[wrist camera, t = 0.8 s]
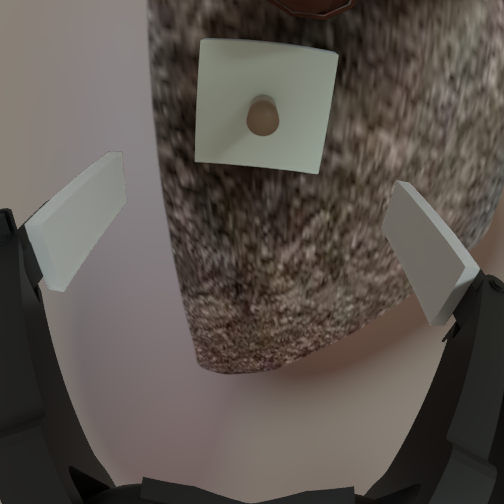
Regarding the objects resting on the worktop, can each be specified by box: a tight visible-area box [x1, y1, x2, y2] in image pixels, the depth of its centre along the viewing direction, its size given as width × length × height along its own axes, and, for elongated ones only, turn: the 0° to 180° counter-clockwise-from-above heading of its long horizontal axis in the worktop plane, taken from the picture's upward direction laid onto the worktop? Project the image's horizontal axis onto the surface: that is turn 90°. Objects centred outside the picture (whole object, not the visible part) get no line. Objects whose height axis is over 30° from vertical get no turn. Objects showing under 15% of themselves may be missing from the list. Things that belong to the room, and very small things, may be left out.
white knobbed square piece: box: [195, 40, 339, 174], centre depth 31 cm, size 16×16×13 cm
